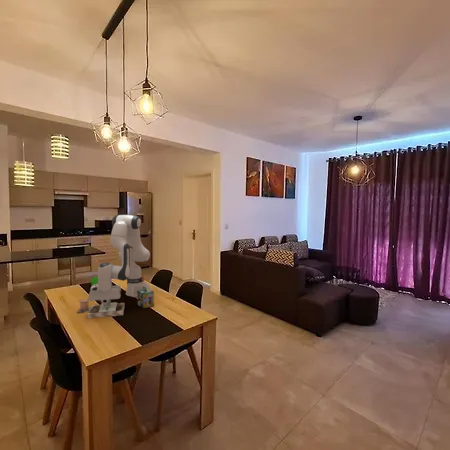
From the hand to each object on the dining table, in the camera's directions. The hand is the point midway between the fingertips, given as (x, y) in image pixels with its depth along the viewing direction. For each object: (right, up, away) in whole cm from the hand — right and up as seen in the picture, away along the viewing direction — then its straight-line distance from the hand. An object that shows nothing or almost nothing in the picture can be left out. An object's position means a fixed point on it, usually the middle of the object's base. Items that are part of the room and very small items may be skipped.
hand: (105, 305), depth 186 cm
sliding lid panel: (+2, -2, +1) cm, 3 cm away
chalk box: (+24, -5, +16) cm, 29 cm away
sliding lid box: (+1, -6, +1) cm, 6 cm away
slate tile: (-16, -5, +4) cm, 17 cm away
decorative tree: (-28, -1, +49) cm, 56 cm away
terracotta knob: (-16, -4, +4) cm, 17 cm away
